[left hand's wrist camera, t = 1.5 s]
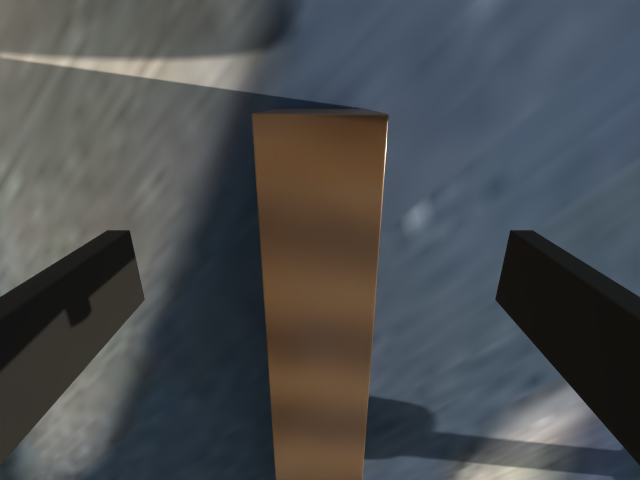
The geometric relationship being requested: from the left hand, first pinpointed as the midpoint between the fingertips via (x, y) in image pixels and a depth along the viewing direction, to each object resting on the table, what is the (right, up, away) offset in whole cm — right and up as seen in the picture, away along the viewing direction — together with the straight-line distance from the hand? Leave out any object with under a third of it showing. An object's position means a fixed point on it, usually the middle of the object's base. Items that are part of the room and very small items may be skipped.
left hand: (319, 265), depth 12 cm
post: (0, -25, +23) cm, 33 cm away
